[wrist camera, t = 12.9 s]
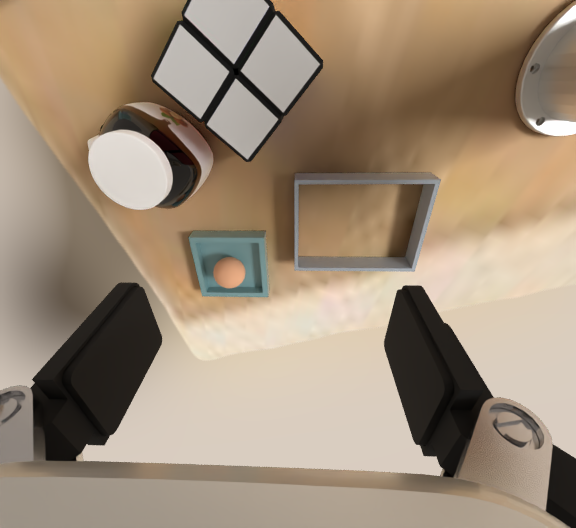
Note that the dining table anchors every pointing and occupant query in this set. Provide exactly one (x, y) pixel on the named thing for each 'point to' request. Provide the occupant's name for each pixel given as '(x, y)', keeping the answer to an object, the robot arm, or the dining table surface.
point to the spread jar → (149, 157)
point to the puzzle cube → (236, 69)
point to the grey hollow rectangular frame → (371, 263)
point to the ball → (229, 272)
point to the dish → (240, 246)
